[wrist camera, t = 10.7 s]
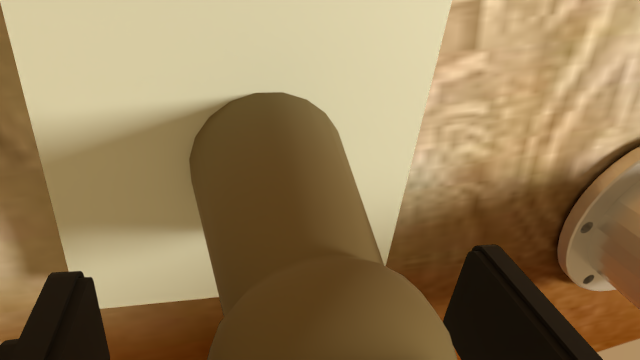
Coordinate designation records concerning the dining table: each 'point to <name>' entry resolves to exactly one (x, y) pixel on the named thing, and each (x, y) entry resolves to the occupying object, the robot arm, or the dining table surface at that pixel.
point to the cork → (298, 243)
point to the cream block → (205, 114)
